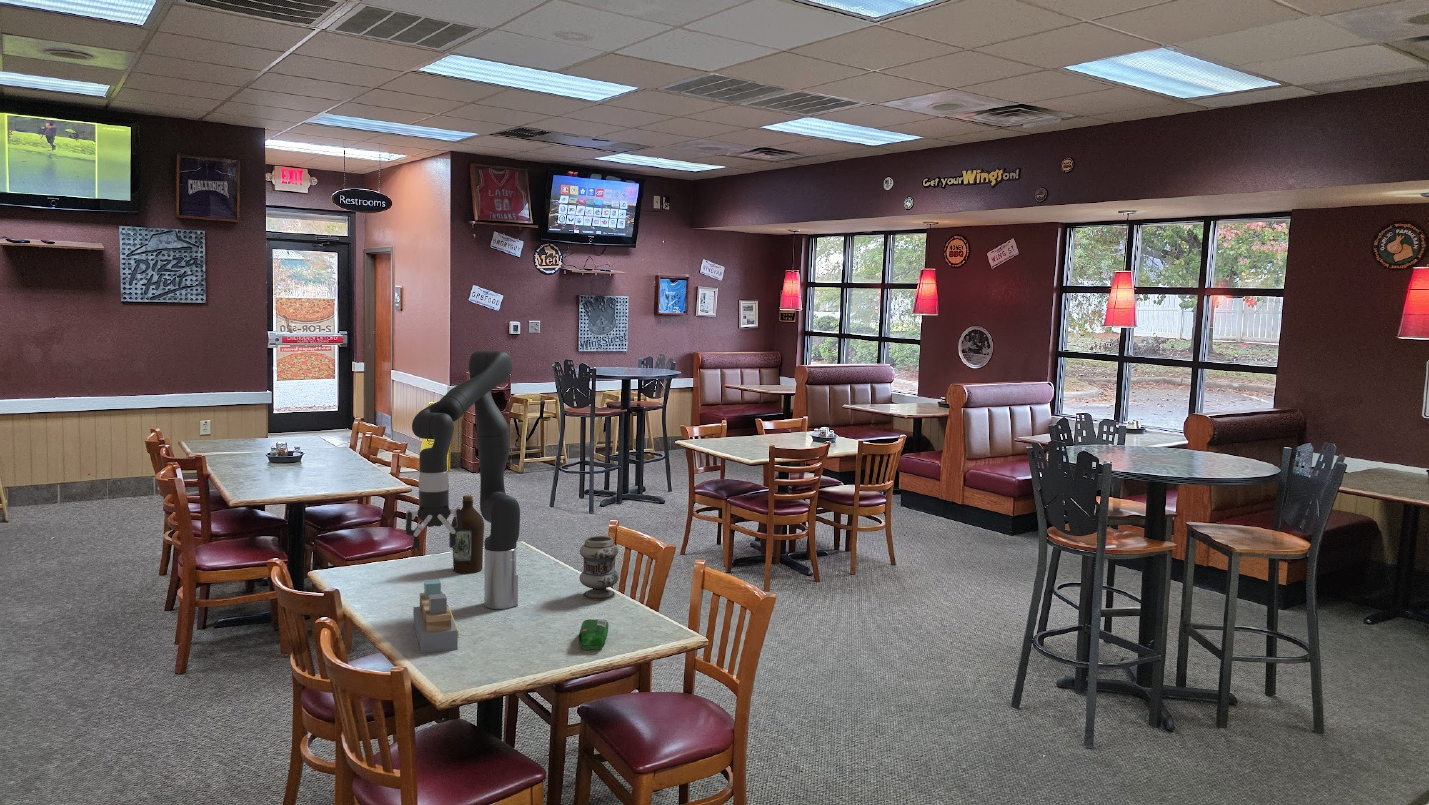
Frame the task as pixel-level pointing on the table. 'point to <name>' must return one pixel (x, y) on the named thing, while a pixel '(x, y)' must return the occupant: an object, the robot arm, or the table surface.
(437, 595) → the block
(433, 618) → the board
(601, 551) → the apothecary jar
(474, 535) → the olive oil
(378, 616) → the table surface
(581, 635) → the snack package
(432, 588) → the block
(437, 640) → the dock
